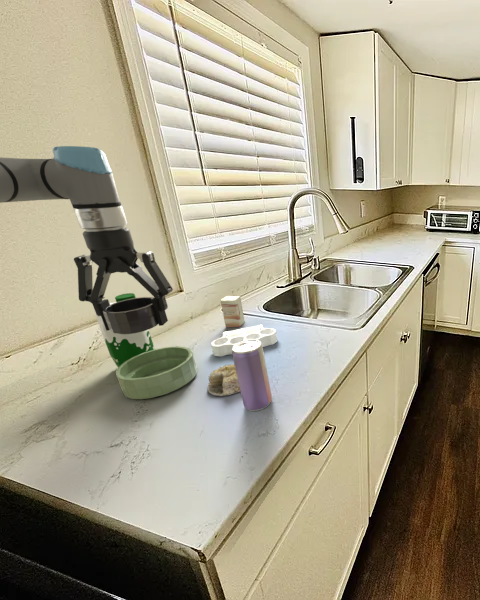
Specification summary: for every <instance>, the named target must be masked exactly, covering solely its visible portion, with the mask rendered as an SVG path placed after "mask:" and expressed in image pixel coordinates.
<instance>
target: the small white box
mask: <svg viewBox="0 0 480 600" xmlns="http://www.w3.org/2000/svg"><path fill="white" fill-rule="evenodd" d="M220 305H221V310H222V311H221V312H222V316H223V320H224V325H225V327H226V328H239V327H240V328H241V326H243V324H245V323H246V321H245V315H244V310H243V309H244V308H243V303H242V297H241V295H226V296H224V297H223V298H221V299H220Z"/></svg>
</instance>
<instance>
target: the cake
mask: <svg viewBox="0 0 480 600" xmlns="http://www.w3.org/2000/svg"><path fill="white" fill-rule="evenodd" d="M207 384H208V385H207V386H206V387H207V388H206V389H207V392H208V393H209V394H211V395H212V396H217V397H218V396H219V397H222V396H223V397H224V396H230V395H234V394H237V393H241V391H240V386H239V382H238V377H237V373H236V368H235V364H234V363H233V364H228V365H227V364H225V365H223V366H219V367H218V368H217V369H215V370H212V372H211V373H210V374H209V376H208V383H207Z"/></svg>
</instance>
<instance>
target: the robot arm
mask: <svg viewBox="0 0 480 600" xmlns="http://www.w3.org/2000/svg"><path fill="white" fill-rule="evenodd" d="M52 153H53V158H20V157H19V158H16V157H0V204H1V203H18V202H30V201H31V202H33V201H51V200H52V201H53V200H69V201H70V204H71V205H72V208H73V211H74V214H75V216H76V219H77V222H78V225H79V227H80V229H82V230H83V232H82V236H83V239H84V242H85V245H86V248H87V249H88V250H89V251H90V252H89V255H87V254H82V255H78V256H75V257H74V258H73V262H74V263H75V266H76V268H77V286H78V287H77V291H78V300H79V301H80V302H89V303H90V304H92V306H93V310H94V309H95V310H94V313H95V312H96V313H95V315H96V314H97V315H98V316H101V317H102V320H103V323H104V325H105V328H106V331H108V330H109V327H108V324H107V321H106V319H105V316H104V314H103V308H105V307H107V306H108V305H110V303H111V302H110V301H109V299H108V298H107V299H105V298H106V296H105V294H106V291H107V287H108V284H109V282H110V278H111V275H112V274H115V273H122V274H123V273H127V274H128V275H129V276H130V277H133V278H134V280H135V281H137V282H138V283H139V284H140V285H141V286H142V287H143V288H144V289H145V290H146V291H147V292H148V293H149V294H150V295H151V296H152V297H154V298H153V299H151V301H152V304H153V308H154V311H155V314H156V317H157V320H158V326H159V327H160V326H164V325H165V324H166V323H168V321H169V320H168V315H167V313H166V310H167V309H168V307H169V305H168V303H167V299H166V296H167V295H169V294H171V292H173V290H174V288H173V287H172V285H171V283H170V282H169V280H168V279H167V277H166V275H165V274H164V273H163V271H162V270H161V268H160V266H159V265H158V263H157V262H156V258H155V254H154V252H153V251H151V250H148V251H147V252H146V251H145V252H140V251H139V252H138V251H137V249H136V248H135V246H134V245H135V244H134V240H133V237H132V234H131V230H130V229H129V228H128V227H126V226H128V220H127V217H126V214H125V212H124V211H125V210H124V208H123V205H122V203H121V201H120V196H119V194H118V193H119V192H118V189H117V185H116V182H115V178H114V174H113V173H114V172H113V170H112V169H111V166H110V164H109V161H108V158H107V155H106V153H105V152H104V151H103V150H102V149H101V148H98V147H95V146H93V147H92V146H81V145H79V146H78V145H77V146H76V145H59V146H54V147H53V148H52ZM138 260H140V261H139V262H141V263H142V264H143V265H144V268H145V270H146V271H147V272H146V271H144V270H143V267H142V266H141V265H140V264H139V263H138V262H137V261H138ZM93 263H94V264H95V265H96V266H98V267H97V271H96V278H95V281H93ZM147 273H148V274H149V275H150V276H149V275H148V274H147ZM93 282H94V284H93Z"/></svg>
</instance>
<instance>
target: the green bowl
mask: <svg viewBox="0 0 480 600" xmlns="http://www.w3.org/2000/svg"><path fill="white" fill-rule="evenodd" d="M197 373H198V367H197V364H196V361H195V357H194V353H193V351H192V350H191V348H189V347H185V346H177V345H176V346H175V345H173V346H164V347H159V348H154V350H151V351H148V352H144V353H142V354H139V355H137V356H135V357H132V358H131V359H129V360H127V361H126V362H124V363H123V364H122V365H120V366H119V367H117V369H116V371H115V375H116V378H117V381H118V383H119V386H120V388H121V391H122V394H123V396H124V397H126V398H127V399H131V400H144V399H145V400H146V399H153V398H156V397H160V396H164V395H167V394H169V393H172V392H174V391H176V390H179V389H180V388H182V387H184V386H186V385H187V384H188V383H190V382H191V381H192V380H193V379H194V378H195V377H196V375H197Z"/></svg>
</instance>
